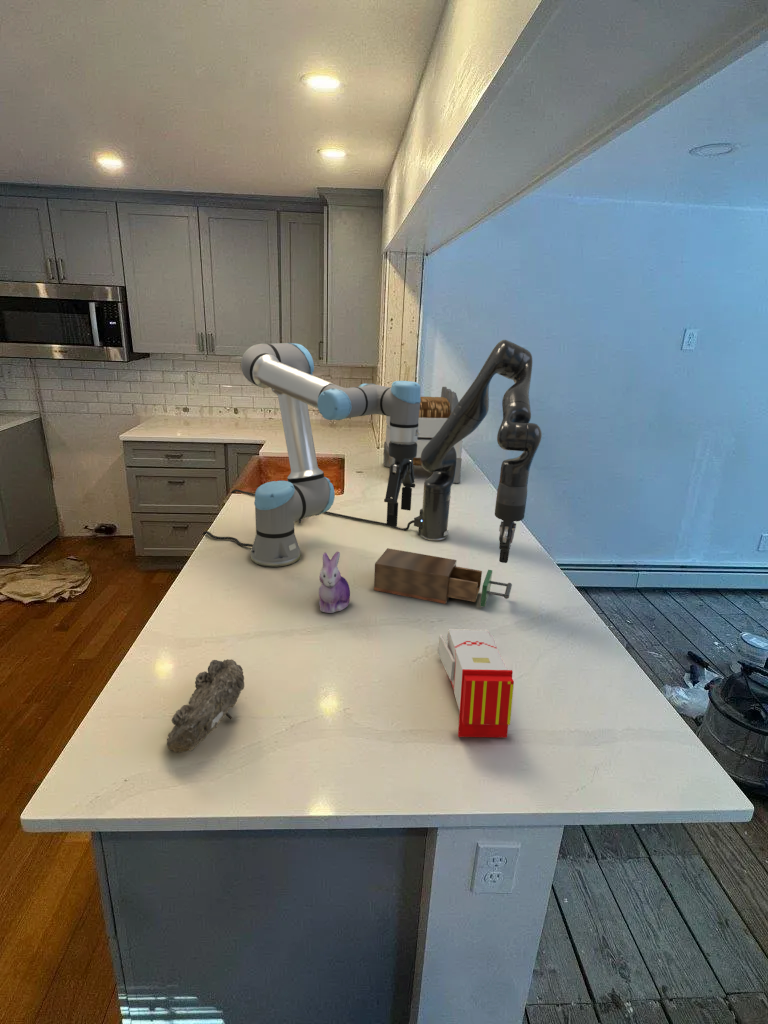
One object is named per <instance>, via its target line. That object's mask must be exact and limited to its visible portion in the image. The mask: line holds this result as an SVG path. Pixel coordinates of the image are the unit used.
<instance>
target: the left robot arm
mask: <svg viewBox="0 0 768 1024" xmlns="http://www.w3.org/2000/svg"><path fill="white" fill-rule="evenodd" d="M240 368H241V372H242V375H243V376H244V378H245V379H246V380H247V381H248V382H249V383H250V384H252V385H254V386H257V387H258V388H262V389H271V391H272V392H273V393H274V394H275V395H276V396H277V399H278V405H279V411H280V417H281V422H282V427H283V434H284V439H285V444H286V445H285V446H286V451H287V455H288V463H289V467H290V473H289V475H288V476H287V480H277V481H276V480H272V481H267V482H265V483H262V484H261V485H259V486H258V487H257V488H256V490H255V492H254V494H255V496H254V502H253V503H254V504H253V505H254V507H255V508H254V513H255V537H254V540H253V543H246V542H245V543H244V542H240V540H239V539H238V538H236V537H233V536H217V535H214V534H213V533H211V532H210V531H208V530H205V531H204V532H202V535H203V536H205V535H208V536H209V537H210V538H212V539H213V540H221V541H222V540H223V541H225V540H230V541H234V542H235V543H236V544H237V545H239V546H241V547H249V548H251V549H250V559H251V561H252V562H253V563H254V564H256V565H259V566H261V567H268V568H272V567H273V568H278V567H285V566H289V565H293V564H294V563H296V562H298V561H299V560H300V559H301V556H302V555H301V551H302V550H301V547H300V546H299V543H298V539H297V536H296V534H295V522H299V520H301V521H302V520H305V519H308V518H311V517H315V516H316V517H317V516H319V515H321V514H325V513H324V512H326V511H327V512H329V510H331V508H332V506H333V505H334V502H335V495H336V492H335V487H334V484H333V483H332V482H331V480H330V478H328V477H327V476H325V472H324V470H322V469H320V467H319V466H318V460H317V454H316V448H315V441H314V436H313V435H314V434H313V430H312V424H311V417H310V412H309V406H311V407H313V408H315V409H317V410H318V412H319V414H321V416H322V418H323V419H325V420H327V421H342V420H346V419H351V418H358V417H366V416H372V415H381V416H385V417H386V416H390V429H389V440H391V441H390V442H389V452H388V454H389V456H391V457H393V458H395V463H394V464H391V466H390V467H389V475H388V481H387V486H386V491H385V498H384V500H383V502H384V503H387V506H386V523H387V524H386V525H389V526H388V527H390V526H396V527H398V518H399V517H398V516H399V515H398V514H399V502H398V499H399V496H400V491H401V498H400V499H401V500H400V501H401V502H400V510H402V511H411V509H412V495H413V489H415V488H416V483H415V482H416V481H415V472H414V471H415V470H414V466H413V458H415V457H416V455H417V443H416V441H417V439H418V434H420V431H419V430H418V420H419V410H420V402H421V398H420V397H421V385H420V383H419V382H416V381H412V380H394V381H393V382H392V383H391V386H385V385H381V384H380V385H379V384H376V383H361V384H360V385H358V386H352V387H351V386H350V387H342V386H340V385H338V384H335V383H333V382H330V381H329V380H326V379H322V377H321V378H320V377H318V376H315V375H314V374H313V373H314V372H315V364H314V359H313V357H312V354H311V353H310V351H309V350H308V349H307V348H306V347H305V346H304V345H303V344H300V343H294V342H293V343H292V342H277V343H275V342H274V343H257V344H254V345H251V346H250V347H248V348H247V349H246V350H245V351H244V353H243V354H242V357H241V360H240ZM308 405H309V406H308ZM386 525H385V526H386Z"/></svg>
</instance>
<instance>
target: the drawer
mask: <svg viewBox="0 0 768 1024" xmlns="http://www.w3.org/2000/svg"><path fill="white" fill-rule="evenodd" d="M482 576H483V570H481V569H480V570H479V569H473V568H469V567H462V566H458V565H456V566H455V567H454V569H453V571H452V573H451V575H450V577H449V582H448V592H447V597H449V598H451V599H456V600H461V601H465V602H466V601H467V602H472V603H476V602H477V599H478V596H479V593H480V591H481V595H480V604H479V605H480V607H484V608H485V607H486V604H487V601H488V598H489V595H493V596H498V597H502V598H504V599H505V600H509V598H510V595H511V591H512V587H513V584H512V583H511V582H507V583H505V582H499V581H494V580H492V577H493V570H492V569H487V572H486V574H485V577H484V580H483V583H482ZM481 585H482V586H481ZM492 585H496V586H503V587H506V588H505V591H504V593H502V592H495V591H491V586H492Z"/></svg>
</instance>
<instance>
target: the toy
mask: <svg viewBox="0 0 768 1024" xmlns="http://www.w3.org/2000/svg"><path fill="white" fill-rule="evenodd" d="M446 640H447V643H446V641H445V639H444V636H443V635H442V634H439V637H438V646H437V656H438V657H439V659H440V661H441V663H442V666H443V668H444V670H445V672H446V674H447V677H448V679H449V681H450V684H451V687H452V690H453V693H454V697H455V701H456V705H457V708H458V711H459V714H458V715H459V716H458V730H457V731H458V732H457V737H458V738H508V731H509V726H510V725H511V717H512V707H513V697H514V696H513V695H514V684H515V680H514V679H513V673H514V671H513V670H512V669H508V667H507V665H506V662H505V661H504V659H503V658H502V655H501V653H500V651H499V649H498V647H497V643H496V639H495V637H494V635H493V634H491V632H490V631H489V629H467V628H466V629H465V628H463V629H461V628H460V629H459V628H448V630H447V639H446Z"/></svg>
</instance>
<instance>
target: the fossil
mask: <svg viewBox="0 0 768 1024" xmlns="http://www.w3.org/2000/svg"><path fill="white" fill-rule="evenodd" d="M243 670H244V669H243V667H242V665H240V664H237V662H236V661H235V660H234V659H232V658H231V659H227V658H226V659H224V660H223V661H222V660H217V659H212V660H211V661H210V663H209V665H208V666H207V671H201V672H199V673H198V674H197V675H196V676H195V680H194V684H195V685H194V687H195V689H194V690H193V693H192V694H191V697H190V698H189V700H188V704H184V705H182V706H181V707H180V709H177V710H176V711H175V713H174V715H173V716H172V718H171V723H172V724H173V727H172V730H171V731H170V732H168V734H167V738H166V741H167V742H166V745H167V749H168V750H169V751H173V752H174V753H176V754H178V753H182V752H188V751H189V752H192V751H193V750H195V748H196V747H197V746H199V744H200V743H201V742H203V741H204V740H205V739H206V738H207V737H208V736H209V735H210V734H211V733H212V732H214V730H215V729H217V727H218V726H219V724H220V722H221V721H222V720H223V719H224V718H225V716H226V717H227V719H229V720H233V717H232V715H230V714H229V710H230V709H231V708H234V706H235V704H236V703H237V702H238V699H239V697H240V695H241V693H242V691H243V690H245V689H244V688H245V675H244V671H243Z"/></svg>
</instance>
